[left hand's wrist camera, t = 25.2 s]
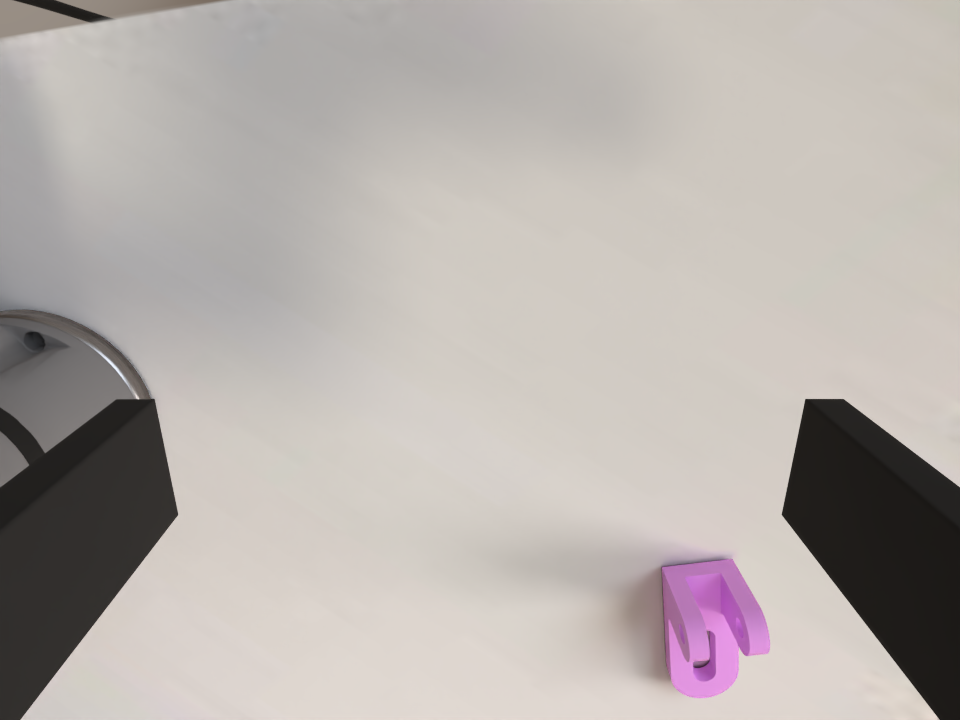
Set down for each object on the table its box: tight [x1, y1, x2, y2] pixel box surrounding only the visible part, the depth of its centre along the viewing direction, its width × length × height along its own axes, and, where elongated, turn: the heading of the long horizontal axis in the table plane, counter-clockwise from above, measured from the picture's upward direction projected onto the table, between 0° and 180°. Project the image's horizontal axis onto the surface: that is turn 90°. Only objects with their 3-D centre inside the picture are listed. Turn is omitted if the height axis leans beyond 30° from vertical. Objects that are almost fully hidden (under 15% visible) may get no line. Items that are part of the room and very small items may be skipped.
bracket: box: [662, 559, 770, 698], centre depth 48 cm, size 13×6×7 cm, turn 8°
